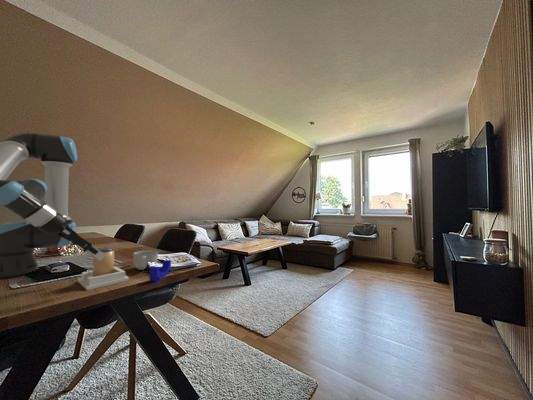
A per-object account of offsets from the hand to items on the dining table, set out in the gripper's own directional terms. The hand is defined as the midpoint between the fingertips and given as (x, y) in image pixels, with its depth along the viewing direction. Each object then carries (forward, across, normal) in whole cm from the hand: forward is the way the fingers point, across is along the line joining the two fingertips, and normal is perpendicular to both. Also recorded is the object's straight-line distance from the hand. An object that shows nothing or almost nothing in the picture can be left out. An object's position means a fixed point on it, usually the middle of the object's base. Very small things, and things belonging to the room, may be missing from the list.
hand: (98, 255), depth 91 cm
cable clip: (+22, +12, +6) cm, 25 cm away
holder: (+9, 0, -6) cm, 11 cm away
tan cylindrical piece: (+8, 0, -5) cm, 10 cm away
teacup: (+22, -5, +6) cm, 24 cm away
